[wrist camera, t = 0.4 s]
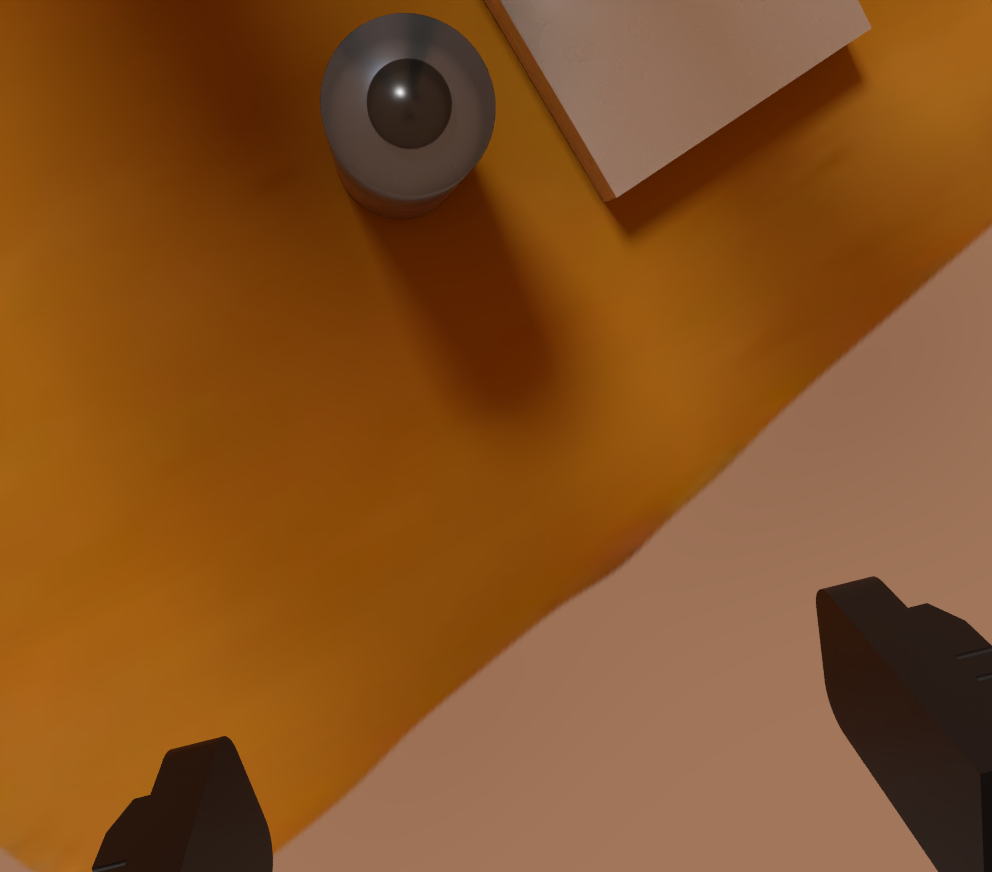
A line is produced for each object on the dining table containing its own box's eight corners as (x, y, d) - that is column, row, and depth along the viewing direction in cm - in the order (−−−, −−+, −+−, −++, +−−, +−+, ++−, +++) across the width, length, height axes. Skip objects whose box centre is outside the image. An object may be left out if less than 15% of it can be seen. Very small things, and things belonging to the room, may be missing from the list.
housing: (308, 132, 35) (283, 72, 25) (416, 61, 35) (434, -27, 25) (382, 243, 36) (386, 228, 26) (486, 174, 36) (530, 132, 26)
